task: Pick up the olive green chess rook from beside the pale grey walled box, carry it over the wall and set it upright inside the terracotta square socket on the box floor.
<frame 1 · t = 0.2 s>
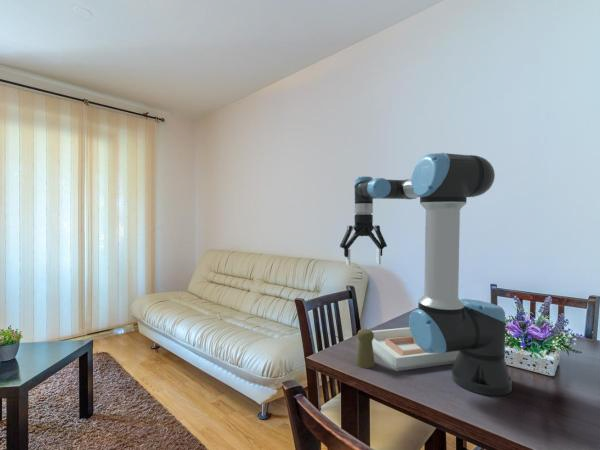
hand: (363, 264, 136), 28 cm above the table, tool pointing down, fingers open, 13 cm apart
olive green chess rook: (365, 364, 105), on the table
walled box: (408, 351, 114), on the table
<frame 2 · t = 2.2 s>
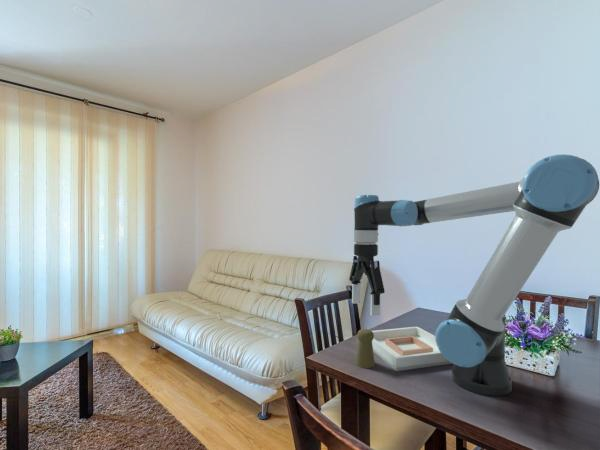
hand: (365, 308, 105), 18 cm above the table, tool pointing down, fingers open, 13 cm apart
nothing on the table moved.
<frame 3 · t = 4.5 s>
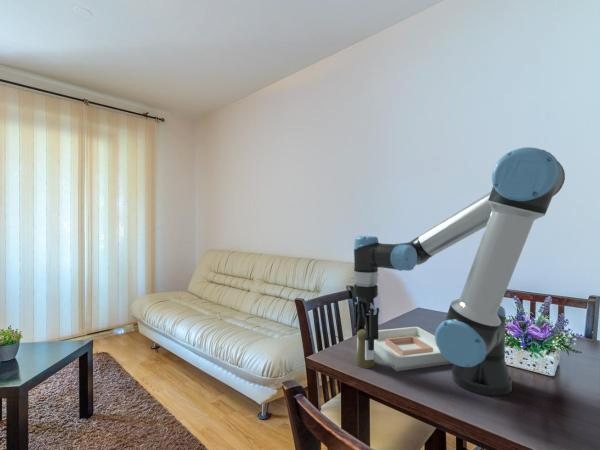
hand: (365, 355, 105), 3 cm above the table, tool pointing down, fingers closed on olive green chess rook, 5 cm apart
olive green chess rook: (365, 364, 105), on the table, touching gripper
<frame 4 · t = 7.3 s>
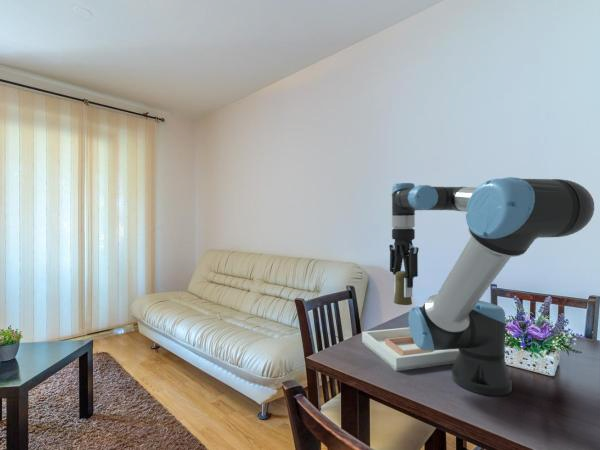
hand: (402, 294, 112), 21 cm above the table, tool pointing down, fingers closed on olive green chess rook, 5 cm apart
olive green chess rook: (402, 303, 112), point 18 cm above the table, touching gripper
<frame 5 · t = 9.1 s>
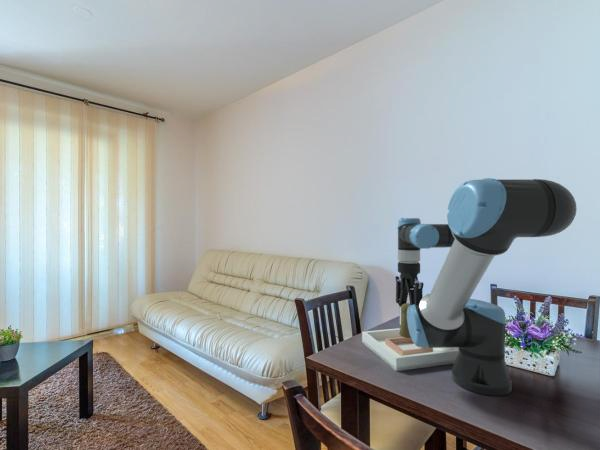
hand: (408, 327, 114), 9 cm above the table, tool pointing down, fingers closed on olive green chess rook, 5 cm apart
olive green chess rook: (408, 335, 114), point 6 cm above the table, touching gripper
when the fingers open (4 cm above the table, at t = 10.4 s): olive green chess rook stays where it is, resting on walled box.
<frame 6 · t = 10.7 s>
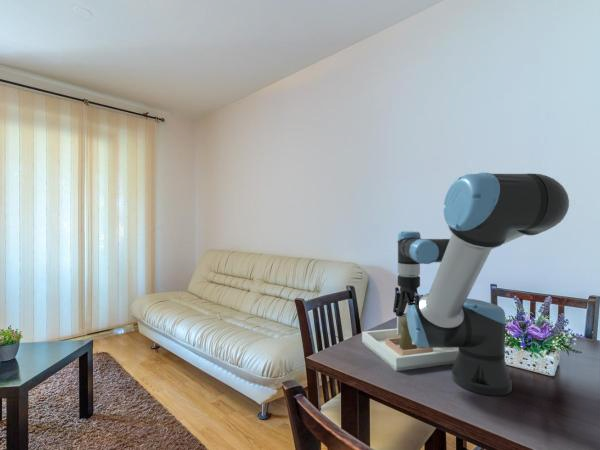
hand: (408, 338, 114), 5 cm above the table, tool pointing down, fingers open, 9 cm apart
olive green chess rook: (408, 349, 114), point 1 cm above the table, touching walled box
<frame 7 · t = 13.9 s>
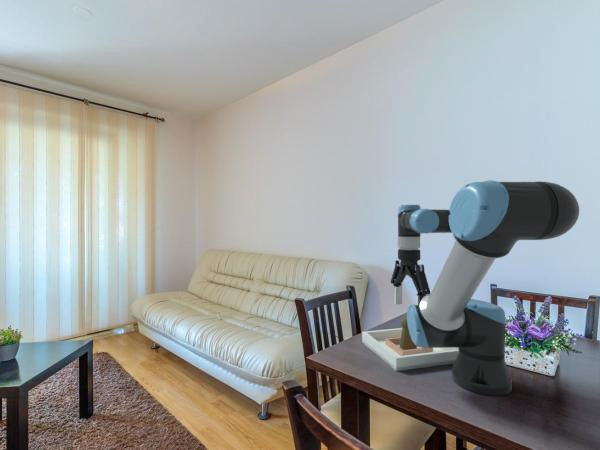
hand: (408, 309, 114), 15 cm above the table, tool pointing down, fingers open, 13 cm apart
nothing on the table moved.
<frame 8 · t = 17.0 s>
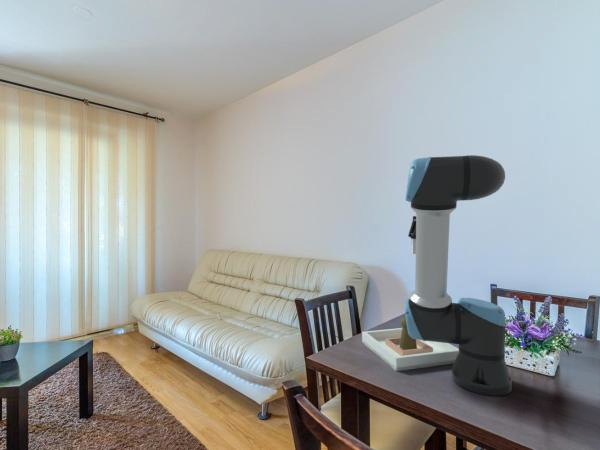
hand: (424, 255, 134), 32 cm above the table, tool pointing down, fingers open, 13 cm apart
nothing on the table moved.
at the end: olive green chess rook 0.1 cm off-centre on the walled box, point 0.8 cm above the walled box's base; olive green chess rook tilted 0°; the gripper is holding nothing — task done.
